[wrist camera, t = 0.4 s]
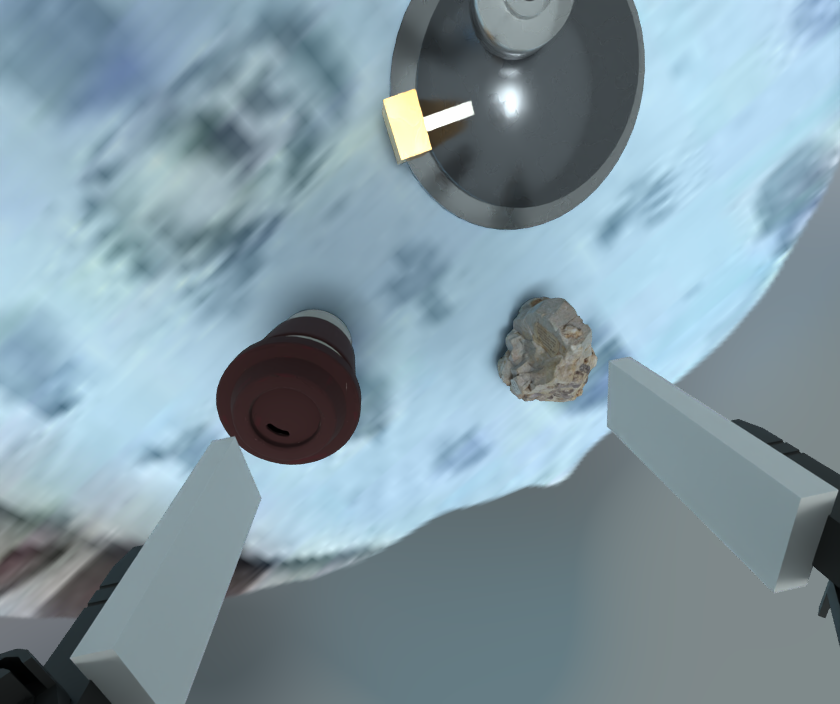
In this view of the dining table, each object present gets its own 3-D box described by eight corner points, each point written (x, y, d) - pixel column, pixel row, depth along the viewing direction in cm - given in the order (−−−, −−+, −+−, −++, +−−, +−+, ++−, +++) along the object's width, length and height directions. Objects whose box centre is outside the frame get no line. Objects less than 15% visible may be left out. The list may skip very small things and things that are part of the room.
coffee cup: (337, 278, 38) (314, 326, 24) (380, 362, 41) (383, 446, 28) (246, 319, 38) (173, 390, 24) (297, 399, 42) (259, 499, 28)
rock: (486, 369, 46) (547, 433, 41) (458, 332, 36) (535, 411, 31) (543, 317, 46) (612, 375, 41) (532, 265, 36) (622, 334, 31)
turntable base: (350, -19, 29) (349, -23, 29) (627, -120, 29) (632, -126, 28) (434, 260, 38) (435, 261, 37) (649, 185, 37) (653, 185, 37)
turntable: (350, 11, 29) (345, -23, 25) (611, -83, 29) (656, -137, 24) (422, 243, 36) (429, 250, 32) (633, 170, 36) (671, 166, 31)
